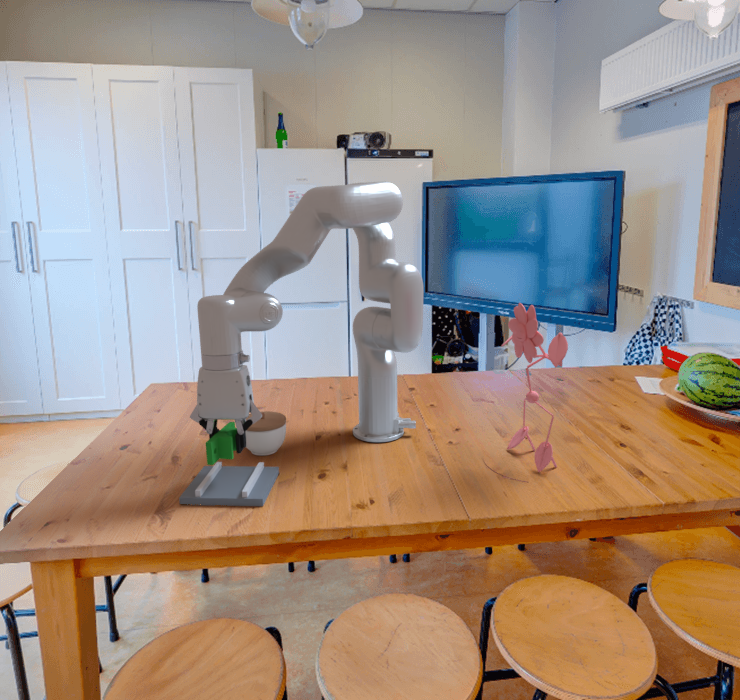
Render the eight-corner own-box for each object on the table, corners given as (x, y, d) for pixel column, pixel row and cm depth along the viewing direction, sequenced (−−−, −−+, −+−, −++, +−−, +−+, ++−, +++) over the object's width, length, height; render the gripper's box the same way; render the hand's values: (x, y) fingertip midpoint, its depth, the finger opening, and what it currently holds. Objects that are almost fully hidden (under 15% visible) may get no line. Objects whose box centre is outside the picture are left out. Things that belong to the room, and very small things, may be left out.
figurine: (520, 436, 139) (524, 292, 130) (582, 483, 114) (592, 311, 106) (461, 444, 135) (461, 297, 127) (512, 495, 111) (516, 317, 103)
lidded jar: (247, 441, 139) (244, 404, 136) (291, 441, 138) (289, 404, 136) (235, 460, 128) (232, 420, 126) (283, 460, 128) (281, 420, 126)
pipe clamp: (226, 466, 107) (224, 443, 106) (207, 465, 108) (205, 442, 107) (248, 443, 118) (246, 422, 117) (231, 442, 119) (229, 421, 117)
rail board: (279, 473, 121) (278, 461, 120) (263, 506, 108) (262, 493, 107) (204, 472, 122) (203, 460, 121) (179, 504, 109) (178, 491, 108)
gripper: (270, 356, 112) (274, 444, 116) (186, 356, 113) (193, 443, 117) (260, 366, 105) (266, 459, 109) (171, 365, 106) (179, 458, 110)
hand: (228, 449), depth 113 cm, fingers closed on pipe clamp, 4 cm apart
